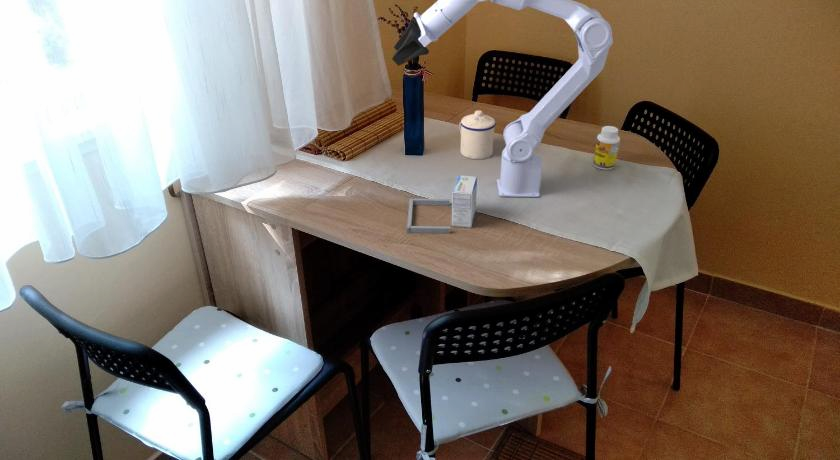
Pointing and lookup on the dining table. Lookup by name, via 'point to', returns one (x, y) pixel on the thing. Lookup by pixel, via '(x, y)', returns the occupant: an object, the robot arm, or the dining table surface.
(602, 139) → the supplement bottle
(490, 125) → the teacup with lid
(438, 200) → the grey bay
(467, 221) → the medicine box
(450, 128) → the dining table surface
